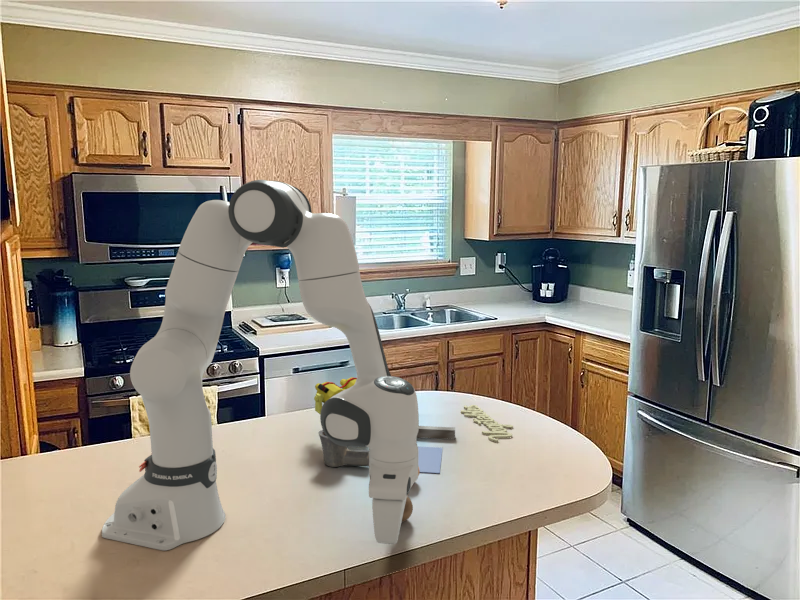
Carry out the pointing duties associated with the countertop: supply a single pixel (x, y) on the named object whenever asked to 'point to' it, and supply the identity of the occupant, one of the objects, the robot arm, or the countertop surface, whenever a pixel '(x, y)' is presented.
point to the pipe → (341, 454)
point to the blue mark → (429, 459)
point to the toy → (330, 391)
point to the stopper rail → (436, 432)
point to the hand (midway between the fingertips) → (393, 538)
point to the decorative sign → (487, 423)
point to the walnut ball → (407, 509)
